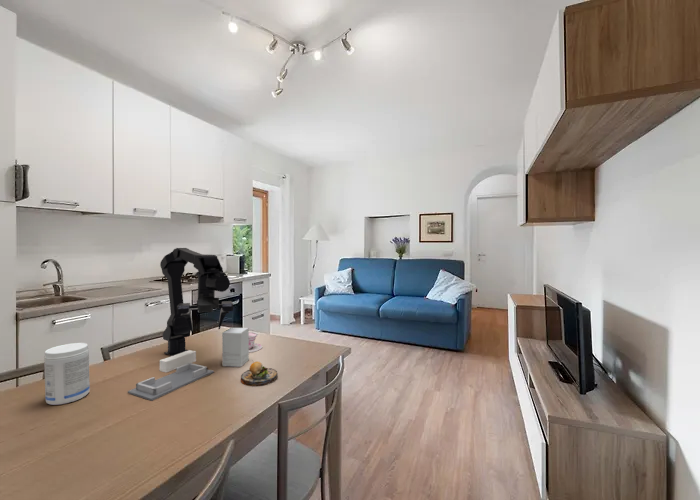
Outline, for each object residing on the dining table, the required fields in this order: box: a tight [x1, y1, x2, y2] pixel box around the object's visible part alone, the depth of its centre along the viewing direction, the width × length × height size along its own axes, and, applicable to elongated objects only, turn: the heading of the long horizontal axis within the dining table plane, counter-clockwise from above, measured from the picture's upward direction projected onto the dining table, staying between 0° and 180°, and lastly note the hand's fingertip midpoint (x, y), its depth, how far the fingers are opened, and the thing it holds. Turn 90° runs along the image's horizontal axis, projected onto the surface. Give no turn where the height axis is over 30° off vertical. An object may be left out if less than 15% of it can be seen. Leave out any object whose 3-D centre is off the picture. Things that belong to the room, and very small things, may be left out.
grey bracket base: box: [127, 362, 215, 402], centre depth 101 cm, size 11×22×2 cm, turn 156°
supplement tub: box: [43, 342, 91, 406], centre depth 90 cm, size 10×10×15 cm
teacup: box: [249, 331, 263, 354], centre depth 135 cm, size 12×12×6 cm
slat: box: [159, 349, 197, 373], centre depth 115 cm, size 4×12×4 cm, turn 155°
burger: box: [240, 359, 278, 387], centre depth 105 cm, size 12×12×8 cm
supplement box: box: [221, 327, 250, 368], centre depth 118 cm, size 7×7×13 cm
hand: (205, 330), depth 116 cm, fingers open, 9 cm apart
